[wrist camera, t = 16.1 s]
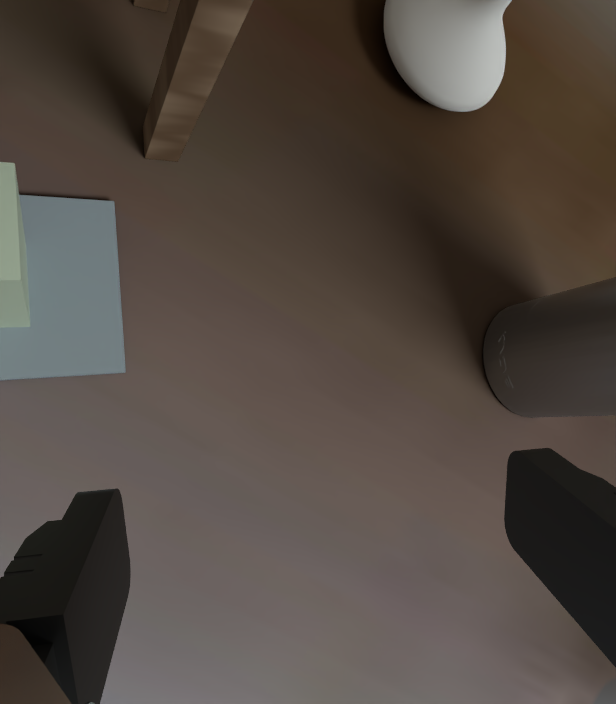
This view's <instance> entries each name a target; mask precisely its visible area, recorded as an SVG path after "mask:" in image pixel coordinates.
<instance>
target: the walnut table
mask: <svg viewBox="0 0 616 704" xmlns="http://www.w3.org/2000/svg"><path fill="white" fill-rule="evenodd" d="M133 2H134V6H137V7H141V8H146V9H151V10H155V11H160V12H165V13H166V11H167V8H168V4H169V0H133ZM252 2H253V0H181V1H180V4H179V7H178V11H177V14H176V17H175V21H174V24H173V27H172V31H171V34H170V37H169V41H168V44H167V47H166V51H165V54H164V57H163V61H162V64H161V67H160V71H159V74H158V78H157V81H156V84H155V88H154V91H153V94H152V98H151V101H150V104H149V108H148V111H147V114H146V118H145V121H144V124H143V139H144V153H145V159H155V160H165V161H175V162H178V160H179V158H180V156H181V154H182V152H183V150H184V148H185V146H186V143H187V141H188V139H189V137H190V135H191V133H192V131H193V128H194V126H195V124H196V122H197V120H198V118H199V116H200V113H201V111H202V109H203V107H204V105H205V103H206V101H207V99H208V96H209V94H210V92H211V90H212V88H213V86H214V84H215V81H216V79H217V77H218V75H219V73H220V71H221V69H222V66H223V64H224V62H225V60H226V58H227V56H228V54H229V51H230V49H231V47H232V45H233V43H234V41H235V39H236V37H237V34H238V32H239V30H240V28H241V26H242V24H243V22H244V19H245V17H246V15H247V13H248V11H249V9H250V7H251V4H252Z"/></svg>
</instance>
